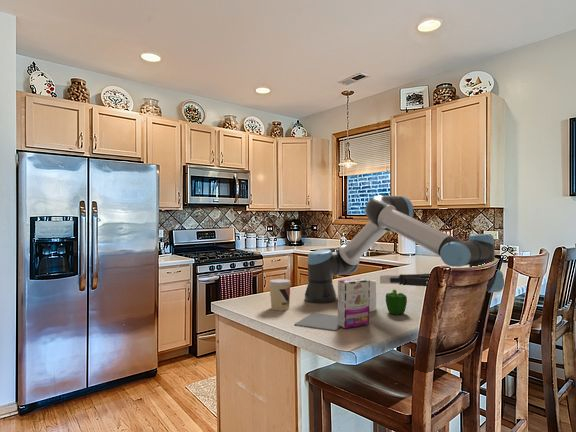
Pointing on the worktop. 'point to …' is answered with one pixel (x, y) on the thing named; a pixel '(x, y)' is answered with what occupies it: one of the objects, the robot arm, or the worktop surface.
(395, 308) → the bell pepper
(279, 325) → the worktop surface
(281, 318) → the worktop surface
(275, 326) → the worktop surface
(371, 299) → the base with upright slab
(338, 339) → the worktop surface
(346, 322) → the candy bar box
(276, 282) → the coffee cup
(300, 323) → the rubber mat
